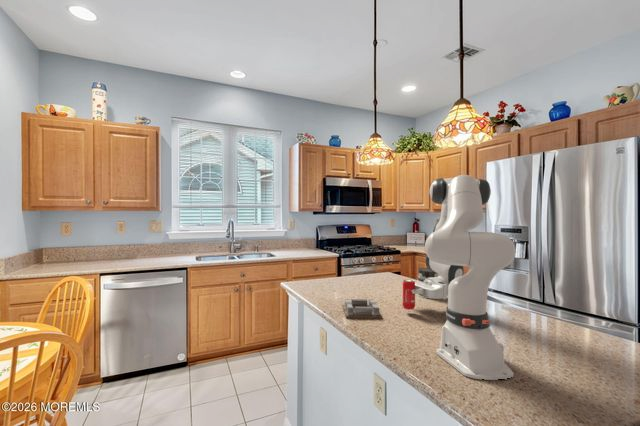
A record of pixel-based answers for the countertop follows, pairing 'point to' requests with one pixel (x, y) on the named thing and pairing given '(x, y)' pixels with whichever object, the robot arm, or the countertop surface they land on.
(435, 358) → the countertop surface
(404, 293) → the beverage can
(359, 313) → the socket block
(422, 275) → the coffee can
